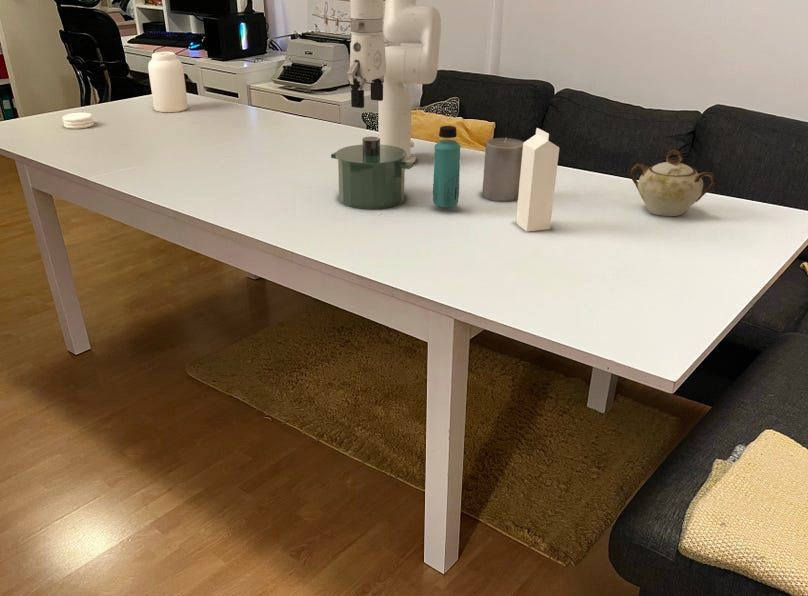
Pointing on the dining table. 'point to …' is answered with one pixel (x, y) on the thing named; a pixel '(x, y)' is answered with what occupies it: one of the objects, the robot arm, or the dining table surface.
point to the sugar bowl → (670, 186)
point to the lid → (371, 153)
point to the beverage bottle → (446, 169)
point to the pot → (371, 184)
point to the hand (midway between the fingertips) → (367, 103)
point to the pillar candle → (502, 169)
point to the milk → (537, 182)
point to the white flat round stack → (78, 120)
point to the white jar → (167, 82)
